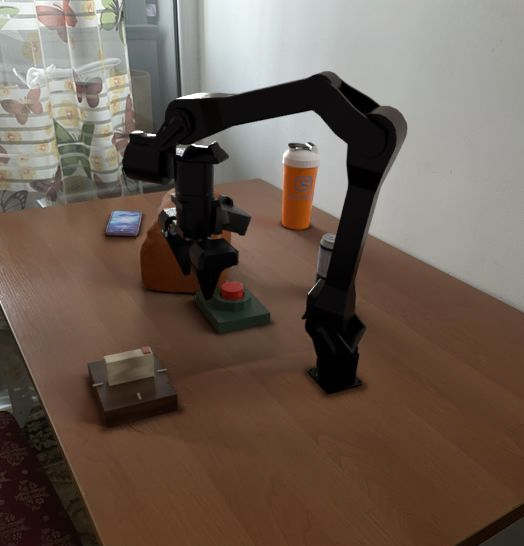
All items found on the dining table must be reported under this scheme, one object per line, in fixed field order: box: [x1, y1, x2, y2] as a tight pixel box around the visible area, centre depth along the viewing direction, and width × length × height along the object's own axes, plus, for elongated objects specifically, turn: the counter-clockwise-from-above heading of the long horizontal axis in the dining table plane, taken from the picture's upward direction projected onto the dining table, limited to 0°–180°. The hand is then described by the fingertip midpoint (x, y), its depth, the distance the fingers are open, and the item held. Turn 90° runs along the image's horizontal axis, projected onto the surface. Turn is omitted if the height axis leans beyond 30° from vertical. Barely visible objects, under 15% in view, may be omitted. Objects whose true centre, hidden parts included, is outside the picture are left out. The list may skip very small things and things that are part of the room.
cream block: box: [103, 345, 154, 386], centre depth 78 cm, size 6×2×4 cm, turn 116°
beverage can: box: [314, 232, 337, 286], centre depth 106 cm, size 6×6×12 cm
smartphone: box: [105, 209, 143, 237], centre depth 135 cm, size 7×1×15 cm
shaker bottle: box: [281, 141, 321, 230], centre depth 135 cm, size 9×9×20 cm
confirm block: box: [194, 283, 271, 334], centre depth 101 cm, size 12×10×4 cm
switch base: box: [86, 349, 179, 429], centre depth 80 cm, size 12×11×3 cm
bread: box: [139, 187, 232, 294], centre depth 113 cm, size 17×24×15 cm
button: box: [221, 281, 243, 300], centre depth 99 cm, size 4×4×2 cm
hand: (197, 286), depth 88 cm, fingers open, 9 cm apart
